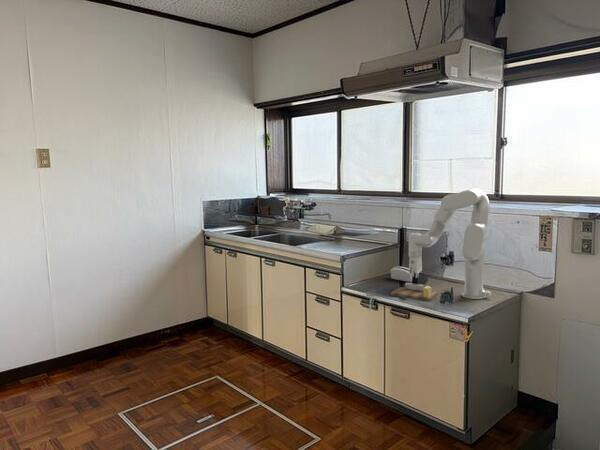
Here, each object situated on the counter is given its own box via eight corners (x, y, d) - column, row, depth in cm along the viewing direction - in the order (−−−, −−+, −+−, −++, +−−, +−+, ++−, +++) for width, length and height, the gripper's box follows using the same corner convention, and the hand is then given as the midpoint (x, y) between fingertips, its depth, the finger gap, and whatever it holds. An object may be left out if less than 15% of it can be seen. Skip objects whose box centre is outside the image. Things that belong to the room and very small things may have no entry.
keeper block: (431, 295, 254) (431, 286, 254) (428, 297, 251) (428, 288, 250) (425, 294, 256) (425, 286, 255) (423, 296, 253) (423, 288, 252)
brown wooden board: (438, 294, 260) (438, 292, 260) (430, 301, 249) (430, 298, 249) (400, 289, 273) (400, 287, 273) (391, 295, 262) (390, 292, 262)
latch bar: (429, 290, 262) (429, 285, 262) (427, 292, 260) (427, 286, 259) (406, 287, 270) (407, 282, 270) (404, 289, 268) (404, 283, 267)
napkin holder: (417, 281, 291) (414, 267, 287) (413, 285, 288) (410, 271, 284) (395, 276, 303) (392, 263, 299) (391, 280, 300) (388, 267, 296)
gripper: (416, 256, 262) (416, 288, 264) (425, 252, 274) (425, 281, 277) (404, 255, 266) (404, 286, 268) (413, 251, 278) (413, 280, 281)
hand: (415, 284), depth 272 cm, fingers closed
